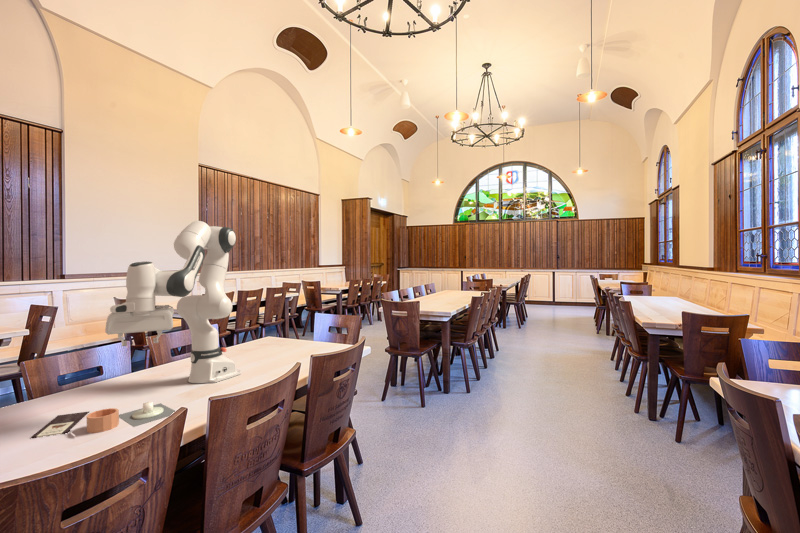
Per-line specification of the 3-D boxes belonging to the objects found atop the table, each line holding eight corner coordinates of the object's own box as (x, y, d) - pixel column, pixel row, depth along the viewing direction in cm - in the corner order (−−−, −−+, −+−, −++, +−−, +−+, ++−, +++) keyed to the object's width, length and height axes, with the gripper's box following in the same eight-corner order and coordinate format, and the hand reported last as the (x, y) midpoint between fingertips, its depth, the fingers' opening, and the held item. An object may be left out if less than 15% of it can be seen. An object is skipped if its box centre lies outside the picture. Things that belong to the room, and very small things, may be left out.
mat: (160, 404, 144) (160, 403, 144) (179, 413, 135) (179, 412, 135) (116, 416, 133) (116, 415, 133) (133, 427, 123) (133, 426, 123)
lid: (157, 407, 140) (156, 396, 140) (168, 412, 135) (167, 402, 135) (128, 415, 133) (127, 404, 133) (138, 421, 127) (138, 410, 127)
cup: (113, 421, 129) (113, 406, 129) (122, 427, 124) (121, 411, 124) (83, 429, 122) (83, 414, 122) (91, 436, 118) (91, 420, 118)
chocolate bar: (89, 411, 137) (67, 431, 120) (89, 414, 137) (67, 434, 120) (58, 415, 133) (30, 436, 117) (58, 418, 133) (31, 439, 117)
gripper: (172, 304, 146) (172, 340, 146) (105, 307, 133) (104, 346, 133) (175, 305, 141) (174, 342, 141) (105, 308, 128) (105, 349, 128)
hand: (140, 344), depth 137 cm, fingers open, 8 cm apart
